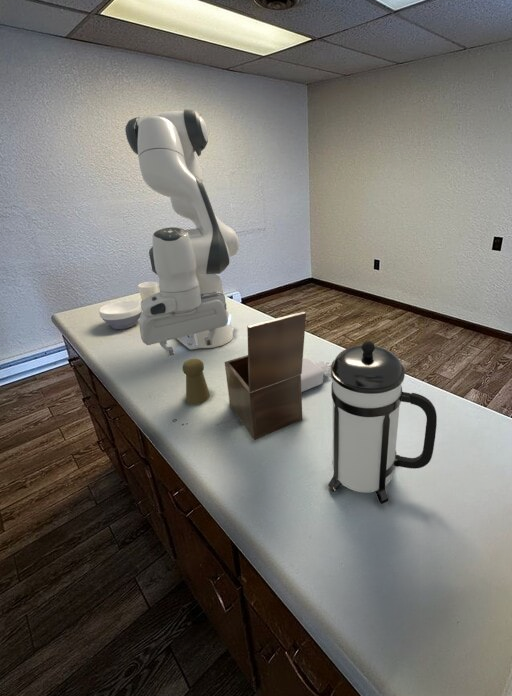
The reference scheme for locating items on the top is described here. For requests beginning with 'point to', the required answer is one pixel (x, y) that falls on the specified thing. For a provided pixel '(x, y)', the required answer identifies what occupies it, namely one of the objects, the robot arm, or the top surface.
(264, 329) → the lid
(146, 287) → the white cup
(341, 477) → the coffee press
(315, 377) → the tissue pack
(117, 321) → the bowl
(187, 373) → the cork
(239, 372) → the box
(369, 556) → the top surface
